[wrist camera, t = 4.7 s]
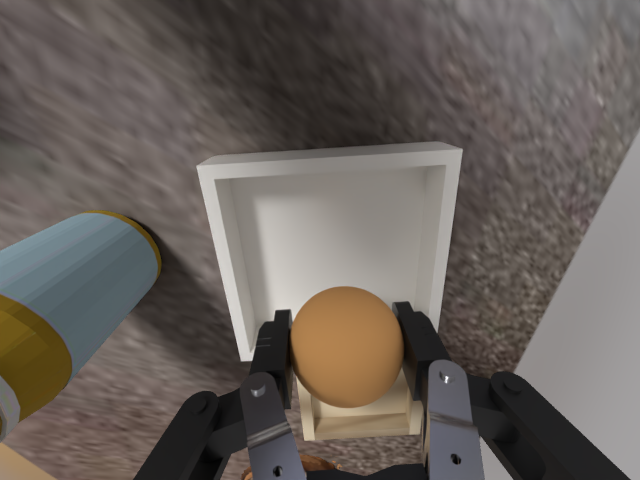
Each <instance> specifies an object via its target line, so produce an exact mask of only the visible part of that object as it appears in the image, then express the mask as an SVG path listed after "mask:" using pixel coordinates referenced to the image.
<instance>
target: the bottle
mask: <svg viewBox="0 0 640 480" xmlns="http://www.w3.org/2000/svg"><path fill="white" fill-rule="evenodd" d="M160 272H161V257H160V253H159V249H158V247H157V245H156V244H155V242H154V241H153V239H152V237H151V236H150V235H149V234H148V233H147V232H146V231H145V230H144V229H143V228H142V227H141V226H140V225H139V224H137V223H136V222H134V221H132V220H130V219H129V218H127V217H125V216H123V215H120V214H117V213H113V212H109V211H104V210H92V211H86V212H83V213H80V214H78V215H75V216H73V217H70V218H68V219H66V220H64V221H62V222H59V223H57V224H55V225H53V226H51V227H49V228H47V229H45V230H43V231H41V232H39V233H37V234H34V235H32V236H30V237H28V238H26V239H24V240H22V241H20V242H18V243H16V244H14V245H12V246H9V247H7V248H5V249H3V250H1V251H0V443H1V441H2V440H3V439H4V438H5V437H6V436H7V435H8V434H9V433H10V432H11V430H12V429H13V428H14V427H15V426H16V425H17V423H19V422H20V421H22V420H23V419H25V418H27V417H28V416H30V415H31V414H33V413H34V412H36V411H37V410H39V409H40V408H42V407H43V406H45V405H46V404H48V403H49V402H50V401H52V400H53V399H54V398H55V397H56V396H57V395H58V394H59V392H60V391H61V390H62V389H64V387H65V386H66V385H67V384H68V383H69V382H70V381H71V379H72V378H73V377H74V376H75V375H76V374H77V373H78V371H79V370H80V369H81V368H82V367H83V366H84V364H85V363H86V362H87V361H88V360H89V359H90V358H91V356H92V355H93V354H94V353H95V352H96V351H97V349H98V348H99V347H100V346H101V345H102V344H103V343H104V341H105V340H106V339H107V338H108V337H109V336H110V335H111V333H112V332H113V331H114V330H115V329H116V328H117V326H118V325H119V324H120V323H121V322H122V321H123V320H124V318H125V317H126V316H127V315H128V314H129V313H130V311H131V310H132V309H133V308H134V307H135V306H136V305H137V303H138V302H139V301H140V300H141V299H142V298H143V296H144V295H145V294H146V293H147V292H148V291H149V290H150V288H151V287H152V286H153V284H154V283H155V282H156V280H157V278H158V277H159V275H160Z"/></svg>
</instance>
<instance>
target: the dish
mask: <svg viewBox="0 0 640 480" xmlns="http://www.w3.org/2000/svg"><path fill="white" fill-rule="evenodd" d="M462 152H463V149H461V148H458V147H455V146H452V145H449V144H446V143H443V142H440V141H434V142H418V143H402V144H386V145H370V146H354V147H338V148H322V149H306V150H290V151H275V152H259V153H243V154H227V155H215V156H213V157H211V158H209V159H208V160H206V161H204V162H202V163H200V164H199V165H197V171H198V175H199V180H200V184H201V188H202V193H203V197H204V201H205V206H206V210H207V214H208V219H209V223H210V228H211V232H212V236H213V241H214V245H215V249H216V254H217V258H218V262H219V267H220V271H221V276H222V280H223V284H224V289H225V293H226V297H227V302H228V306H229V310H230V315H231V319H232V324H233V328H234V332H235V337H236V341H237V345H238V350H239V354H240V358H241V361H252V360H253V355H254V350H255V347H256V341H257V336H258V332H259V329H260V328H261V326H262V325H263V324H264V322H266V321H274V315H275V310H283V309H291V312H292V320H293V321H294V319H295V317H296V315H297V313H298V312H299V310H300V309H301V307H302V306H303V305H304V304H305V303H306V302H307V301H308V300H309V299H310V298H311V297H313V296H314V295H316V294H317V293H319V292H321V291H323V290H326V289H329V288H333V287H339V286H350V287H357V288H361V289H364V290H366V291H369V292H371V293H372V294H374V295H376V296H377V297H379V298H380V299H381V300H382V301H383V302H384V303H386V304H387V305H388V307H389V308H390V309H391V310H392V303H393V302H403V301H409V302H410V304H411V307H412V309H413V311H414V312H415V311H421V312H423V313H424V314H425V315H426V316H427V317H428V318H429V319H430V321H431V322H432V324H433V326H434V328H435V330H436V332H437V333H438V325H439V318H440V311H441V304H442V296H443V289H444V282H445V275H446V267H447V260H448V253H449V246H450V239H451V231H452V224H453V217H454V210H455V202H456V195H457V188H458V181H459V173H460V166H461V159H462Z"/></svg>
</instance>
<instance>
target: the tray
mask: <svg viewBox="0 0 640 480" xmlns="http://www.w3.org/2000/svg"><path fill="white" fill-rule="evenodd" d="M296 378H297V376H296ZM297 386H298V394H299V401H300V409H301V417H302V425H303V433H304V441H307V440H325V439H342V438H360V437H377V436H395V435H412V434H420V427H421V420H422V412H423V405H422V402H421V401H413V399H412V396H411V393H410V390H409V387H408V384H407V381H406V378H405V375H404V372H403V369H402V368H401V370H400V373H399V375H398V377H397V379H396V381H395V383H394V384H393V385H392V387H391V388H390V389H389V390H388V391H387V392H386V393H385V394H384V395H383V396H382V397H380V398H379V399H378V400H376V401H375V402H373V403H371V404H368V405H365V406H362V407H357V408H339V407H334V406H331V405H328V404H326V403H323V402H321V401H320V400H318V399H316V398H315V397H314V396H312V395H311V394H310V393H309V392H308V391H307V390H306V389H305V388H304V387H303V386H302V384H301V383H300V381H299V380H298V378H297Z"/></svg>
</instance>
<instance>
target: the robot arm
mask: <svg viewBox="0 0 640 480" xmlns="http://www.w3.org/2000/svg"><path fill="white" fill-rule="evenodd" d="M392 312H393V313H394V315H395V316H396V318H397V320H398V322H399V325H400V327H401V330H402V334H403V340H404V359H403V364H402V369H403V372H404V375H405V378H406V381H407V384H408V387H409V390H410V393H411V396H412V399H413V401H421V402H422V405H423V418H422V456H421V463H420V464H405V465H394V466H391V467H388V468H386V469H383V470H381V471H378V472H376V473H373V474H371V475H368V476H362V475H358V474H354V473H349V472H345V471H340V470H336V469H331V470H316V471H306V476H305V472H304V469H303V466H302V463H301V459H300V456H299V453H298V450H297V446H296V443H295V440H294V437H293V433H292V430H291V427H290V425H289V424H288V422H287V418H286V415H285V412H284V411H285V409H291V399H292V382H293V368H292V365H291V361H290V353H289V335H290V330H291V326H292V324H293V320H292V312H291V309H283V310H275V315H274V321H266V322H264V324H263V325H262V326H261V328H260V329H259V332H258V336H257V341H256V347H255V350H254V355H253V360H252V364H251V369H250V373H249V376H248V377H247V378H246V379H245V380H244V381H243V382H242V384H241V387H240V388H238V389H237V390H235V391H233V392H230V393H228V394H225V395H222V396H219V397H217V395H216V394H215V393H213V392H211V391H202V392H198V393H196V394H194V395H192V396H191V397H189V398H188V399H187V400H186V401H185V402H184V404H183V405H182V407H181V408H180V410H179V411H178V413H177V414H176V416H175V417H174V419H173V420H172V422H171V423H170V425H169V426H168V428H167V429H166V431H165V432H164V434H163V435H162V437H161V438H160V440H159V441H158V443H157V444H156V446H155V447H154V449H153V450H152V452H151V453H150V455H149V456H148V458H147V459H146V461H145V462H144V464H143V465H142V467H141V468H140V470H139V471H138V473H137V475H136V476H135V478H134V479H133V480H220V478H221V476H222V474H223V471H224V469H225V467H226V465H227V462H228V460H229V458H230V456H231V454H232V453H235V452H237V451H239V450H242V449H244V448H246V447H248V452H249V458H250V464H251V471H252V477H253V480H485V479H484V471H483V464H482V456H481V449H480V442H479V436H481V437H482V438H483V440H484V441H485V442H486V444H487V445H488V446H489V448H490V449H491V450H492V452H493V453H494V454H495V456H496V457H497V458H498V460H499V461H500V462H501V463H502V465H503V466H504V468H505V469H506V470H507V472H508V473H509V474H510V476H511V477H512V478H513V480H630V479H629V478H628V477H627V476H626V475H625V474H624V473H623V472H622V471H621V470H620V469H619V468H618V467H617V466H616V465H615V464H613V463H612V462H611V461H610V460H609V459H608V458H607V457H606V456H605V455H604V454H603V453H602V452H601V451H600V450H599V449H598V448H597V447H595V446H594V445H593V444H592V443H591V442H590V441H589V440H588V439H587V438H586V437H585V436H584V435H583V434H582V433H581V432H580V431H579V430H578V429H577V428H575V427H574V426H573V425H572V424H571V423H570V422H569V421H568V420H567V419H566V418H565V417H564V416H563V415H562V414H561V413H560V412H558V411H557V410H556V409H555V408H554V407H553V406H552V405H551V404H550V403H549V402H548V401H547V400H546V399H545V398H544V397H543V396H542V395H541V394H540V393H538V392H537V391H536V390H535V389H534V388H533V387H532V386H531V385H530V384H529V383H528V382H527V381H526V380H525V379H523V378H522V377H520V376H518V375H516V374H513V373H510V372H504V371H502V372H497V373H495V374H493V376H492V377H491V379H487V378H482V377H477V376H473V375H470V374H467V373H465V371H464V370H463V369H462V368H461V367H460V366H459V365H457V364H456V363H454V362H452V361H451V359H450V357H449V355H448V353H447V351H446V349H445V347H444V345H443V343H442V342H441V340H440V338H439V336H438V335H437V332H436V330H435V328H434V326H433V324H432V322H431V321H430V319H429V318H428V317H427V316H426V315H425V314H424V313H423V312H421V311H415V312H414V311H413V309H412V307H411V304H410V302H409V301H403V302H393V303H392Z"/></svg>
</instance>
